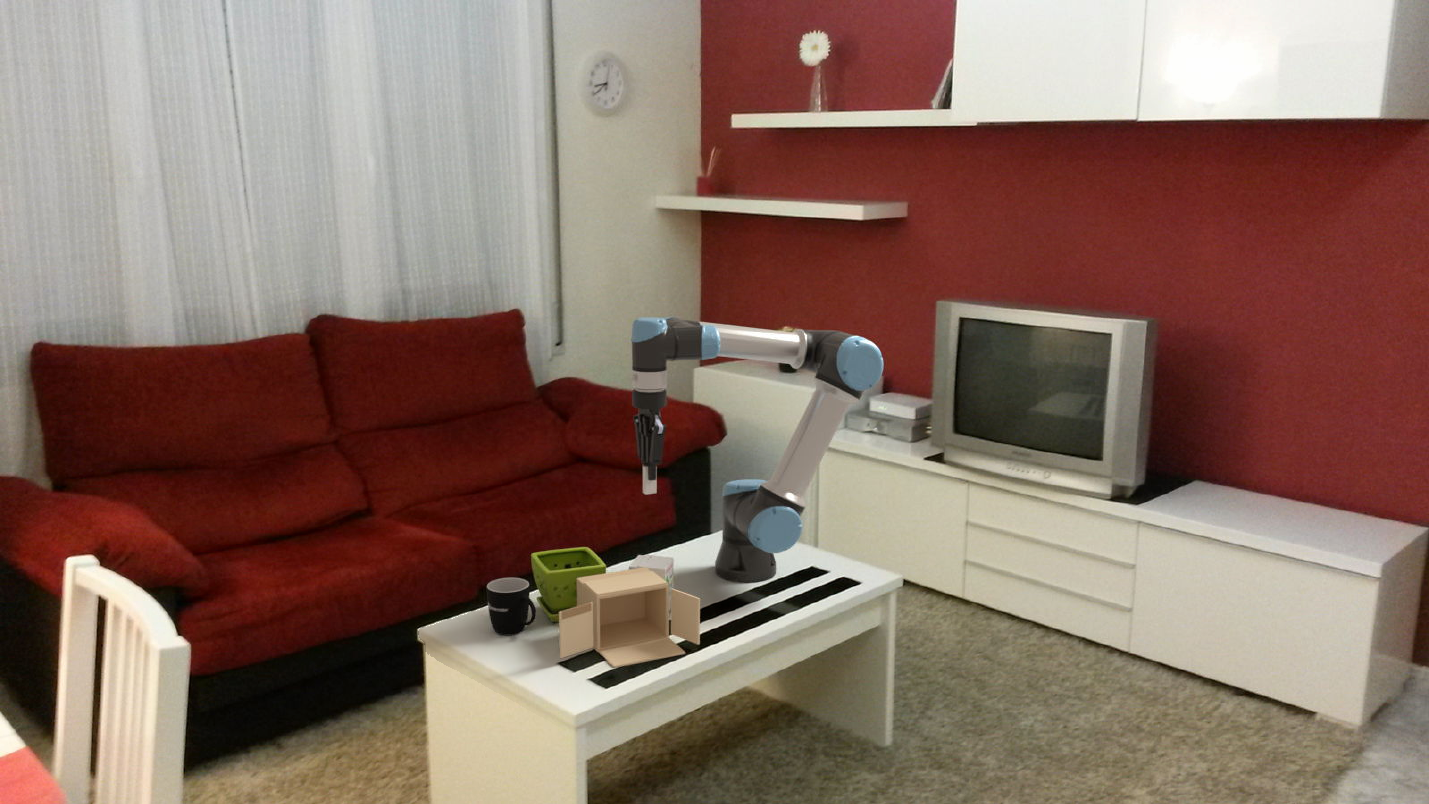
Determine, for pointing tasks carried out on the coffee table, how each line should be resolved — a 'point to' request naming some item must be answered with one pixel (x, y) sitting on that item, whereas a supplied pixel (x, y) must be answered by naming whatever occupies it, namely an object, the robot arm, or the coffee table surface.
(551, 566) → the flower pot
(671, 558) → the ink box
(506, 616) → the mug
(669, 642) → the carton
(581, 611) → the flap
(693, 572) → the coffee table surface
